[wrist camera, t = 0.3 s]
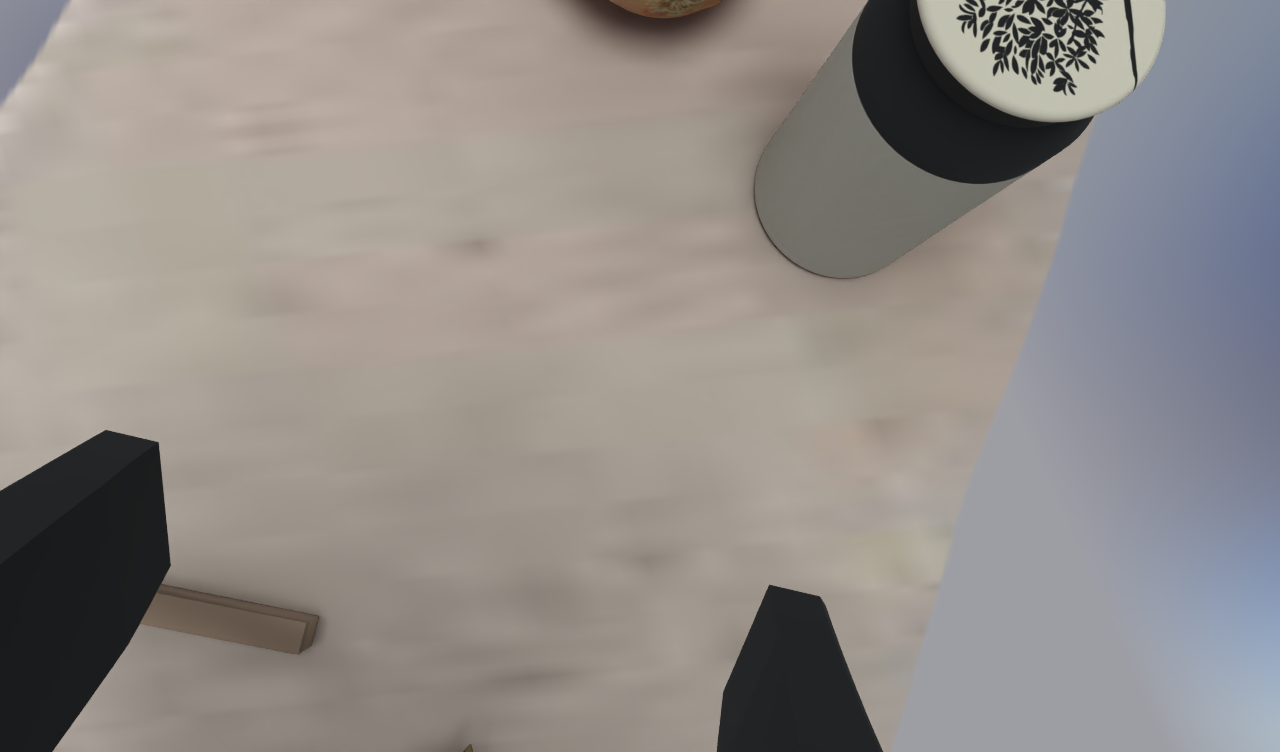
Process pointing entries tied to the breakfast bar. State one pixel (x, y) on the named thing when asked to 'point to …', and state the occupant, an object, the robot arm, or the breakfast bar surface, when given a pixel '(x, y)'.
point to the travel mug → (940, 118)
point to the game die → (468, 749)
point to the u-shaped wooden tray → (231, 620)
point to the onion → (665, 7)
